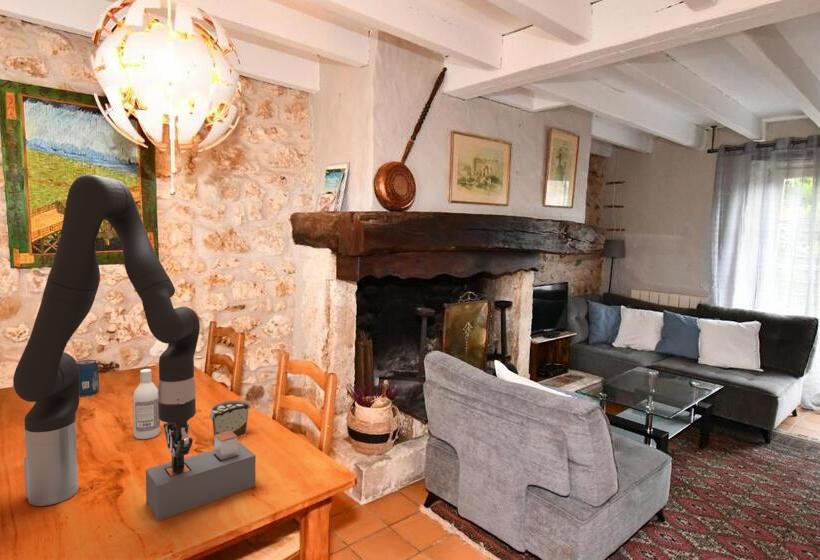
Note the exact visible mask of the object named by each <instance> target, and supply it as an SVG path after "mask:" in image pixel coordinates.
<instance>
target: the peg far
mask: <svg viewBox="0 0 820 560" xmlns="http://www.w3.org/2000/svg"><path fill="white" fill-rule="evenodd" d="M213 438H214V439H213V440H214V450H215V457H216V458H217V459H218V460H219V461H220V462H221V461H224V460H228V459H231V458H234V457H237V443H238V438H237V435H235V434H234V433H233V432H232V431H227V432H223V433H220V434H216V435H214V434H213Z"/></svg>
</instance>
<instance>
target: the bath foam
mask: <svg viewBox="0 0 820 560" xmlns="http://www.w3.org/2000/svg"><path fill="white" fill-rule="evenodd" d="M139 374H140V376H139V377H140V379H139V380H140V382H139V384H138V386H136V389H135V390H134V393H133V395H132V416H133V417H132V420H133V421H132V424H133V428H132V429H133V437H134V438H135V439H137V440H147V439H152V438H155V437H157V436H158V435H160V433H161V420H160V419H159V416H158V386H156V384H155V383H154V382H153V378H152V376H153V375H152V374H153V373H152V369H151V368H145V369H141V370H140V371H139Z"/></svg>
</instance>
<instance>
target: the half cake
mask: <svg viewBox="0 0 820 560" xmlns="http://www.w3.org/2000/svg"><path fill="white" fill-rule="evenodd" d="M249 409H251V404H250V402H249V401H245V400H227V401H224V402H220V403H219V402H218V403H217V404H215V405H213V406H212V407H211V410H210V413H209V418H210V419H211V420H212V421H211V422H212V429H213V436H214V435H216V434H220V433H223V432H227V431H232V432H233V433H234V434H235V435H237V437H238V438H240V437H239V436H241V435H244V434H246V435H247V428H248V427H247V426H248V418H249ZM244 436H245V435H244ZM241 437H242V436H241Z"/></svg>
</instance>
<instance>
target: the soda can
mask: <svg viewBox="0 0 820 560" xmlns="http://www.w3.org/2000/svg"><path fill="white" fill-rule="evenodd" d="M76 362H77V365H78V368H79V374H80V392H79V397H91V396H95V395H96V394H97V393H98V392H99V390H100V377H99V374H100V373H99V364H98V362H97V360H96V359H83V360H79V361H76Z"/></svg>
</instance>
